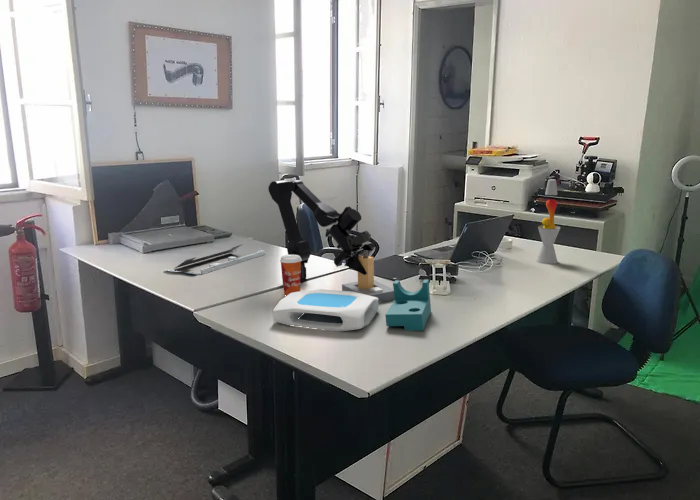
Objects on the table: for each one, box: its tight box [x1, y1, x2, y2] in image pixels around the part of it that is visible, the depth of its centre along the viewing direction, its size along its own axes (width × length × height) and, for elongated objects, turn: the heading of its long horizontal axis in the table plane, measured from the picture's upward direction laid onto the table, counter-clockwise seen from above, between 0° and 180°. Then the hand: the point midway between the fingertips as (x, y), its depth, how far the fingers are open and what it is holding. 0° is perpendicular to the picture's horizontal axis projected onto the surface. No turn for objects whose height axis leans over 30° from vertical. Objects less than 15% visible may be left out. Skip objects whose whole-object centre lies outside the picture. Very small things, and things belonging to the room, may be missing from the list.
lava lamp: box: [535, 178, 561, 265], centre depth 241 cm, size 9×9×35 cm
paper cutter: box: [164, 244, 266, 275], centre depth 251 cm, size 18×45×6 cm, turn 148°
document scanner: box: [272, 288, 379, 333], centre depth 179 cm, size 21×28×6 cm
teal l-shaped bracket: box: [385, 279, 432, 332], centre depth 176 cm, size 18×11×10 cm, turn 165°
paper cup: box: [279, 254, 302, 297], centre depth 202 cm, size 8×8×14 cm
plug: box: [357, 250, 375, 290], centre depth 201 cm, size 4×4×14 cm
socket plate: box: [341, 279, 395, 303], centre depth 201 cm, size 13×17×4 cm
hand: (368, 272), depth 201 cm, fingers closed on plug, 4 cm apart
